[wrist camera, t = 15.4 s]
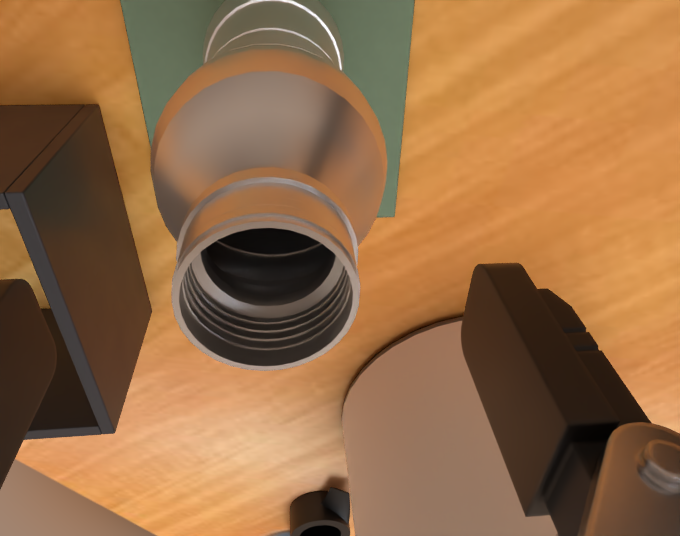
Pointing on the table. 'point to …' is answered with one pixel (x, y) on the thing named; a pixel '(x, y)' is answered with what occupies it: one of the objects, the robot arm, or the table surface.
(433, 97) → the table surface
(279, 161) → the plastic bottle
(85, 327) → the tote
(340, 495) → the black tabbed ring
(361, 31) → the mat
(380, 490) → the humidifier
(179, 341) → the table surface
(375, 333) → the table surface
